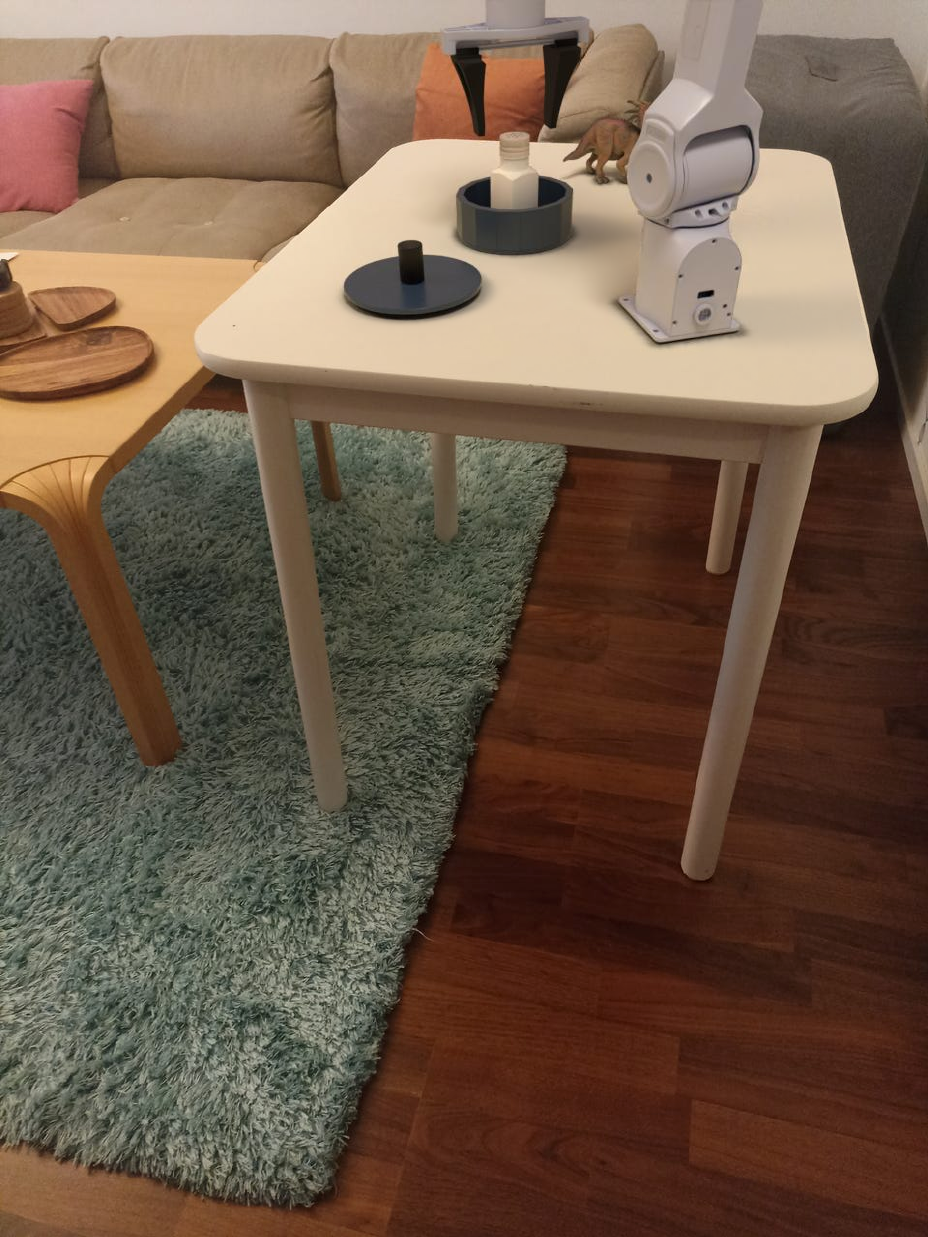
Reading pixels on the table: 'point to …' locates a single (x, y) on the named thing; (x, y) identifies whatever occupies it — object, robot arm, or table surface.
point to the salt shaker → (514, 174)
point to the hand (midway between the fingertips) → (514, 130)
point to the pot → (514, 219)
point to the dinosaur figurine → (610, 142)
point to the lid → (412, 282)
